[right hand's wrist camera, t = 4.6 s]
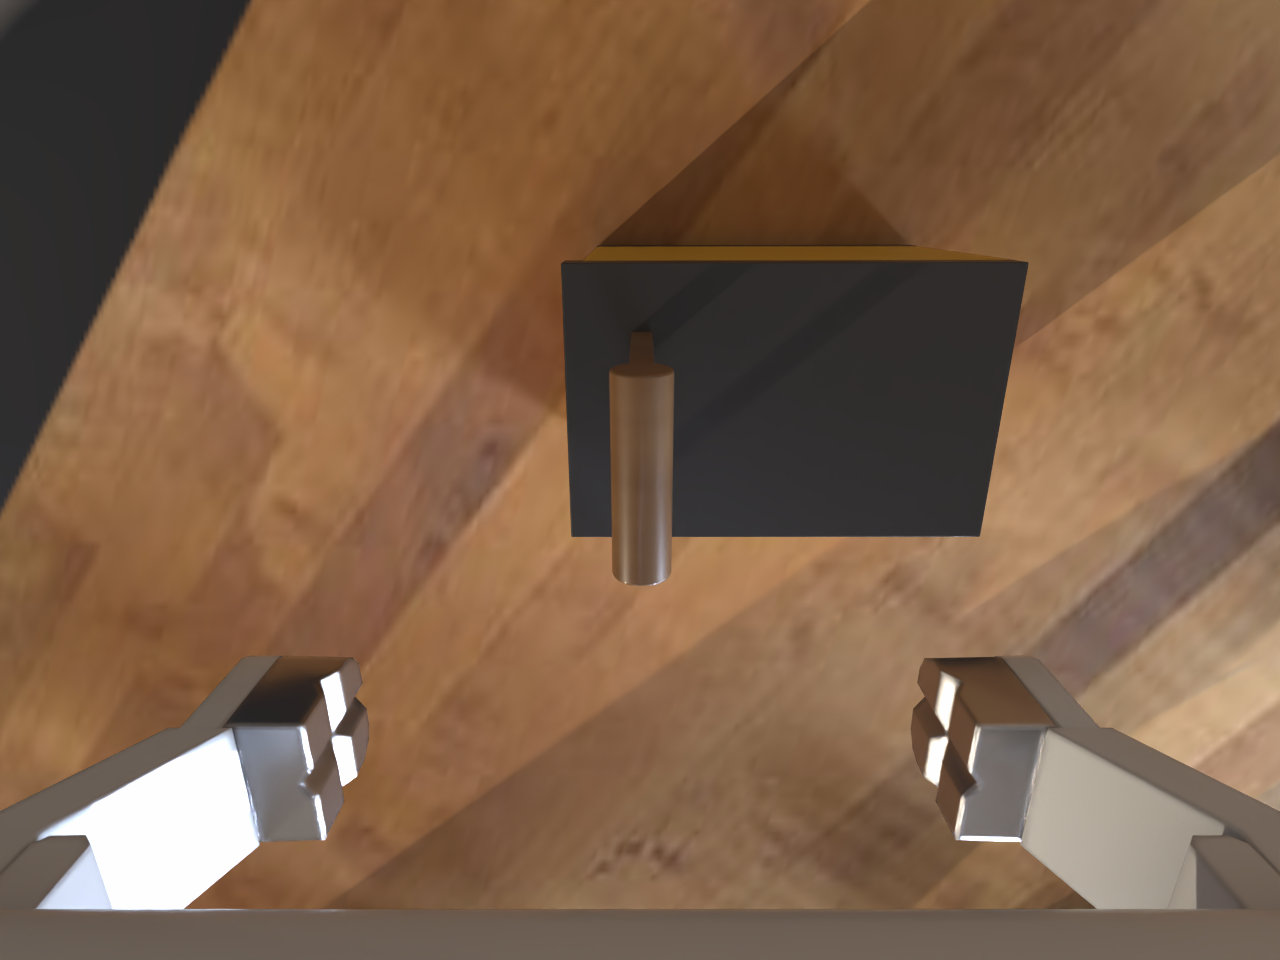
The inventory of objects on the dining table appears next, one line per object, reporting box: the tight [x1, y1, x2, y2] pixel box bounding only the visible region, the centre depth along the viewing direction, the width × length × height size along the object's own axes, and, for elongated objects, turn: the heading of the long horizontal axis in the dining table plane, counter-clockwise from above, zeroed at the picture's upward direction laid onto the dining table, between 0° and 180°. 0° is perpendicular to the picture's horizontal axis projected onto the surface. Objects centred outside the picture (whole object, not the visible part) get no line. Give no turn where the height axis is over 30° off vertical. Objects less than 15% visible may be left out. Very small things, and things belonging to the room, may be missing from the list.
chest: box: [583, 245, 1009, 261], centre depth 31 cm, size 15×10×10 cm
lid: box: [561, 260, 1028, 586], centre depth 22 cm, size 15×10×9 cm, turn 90°
